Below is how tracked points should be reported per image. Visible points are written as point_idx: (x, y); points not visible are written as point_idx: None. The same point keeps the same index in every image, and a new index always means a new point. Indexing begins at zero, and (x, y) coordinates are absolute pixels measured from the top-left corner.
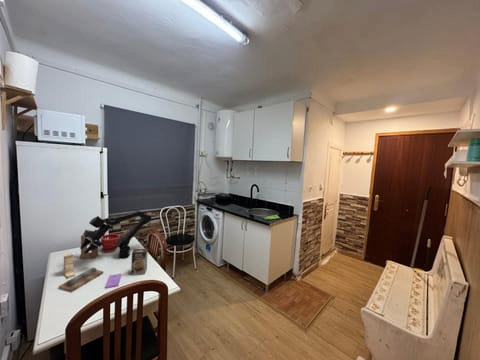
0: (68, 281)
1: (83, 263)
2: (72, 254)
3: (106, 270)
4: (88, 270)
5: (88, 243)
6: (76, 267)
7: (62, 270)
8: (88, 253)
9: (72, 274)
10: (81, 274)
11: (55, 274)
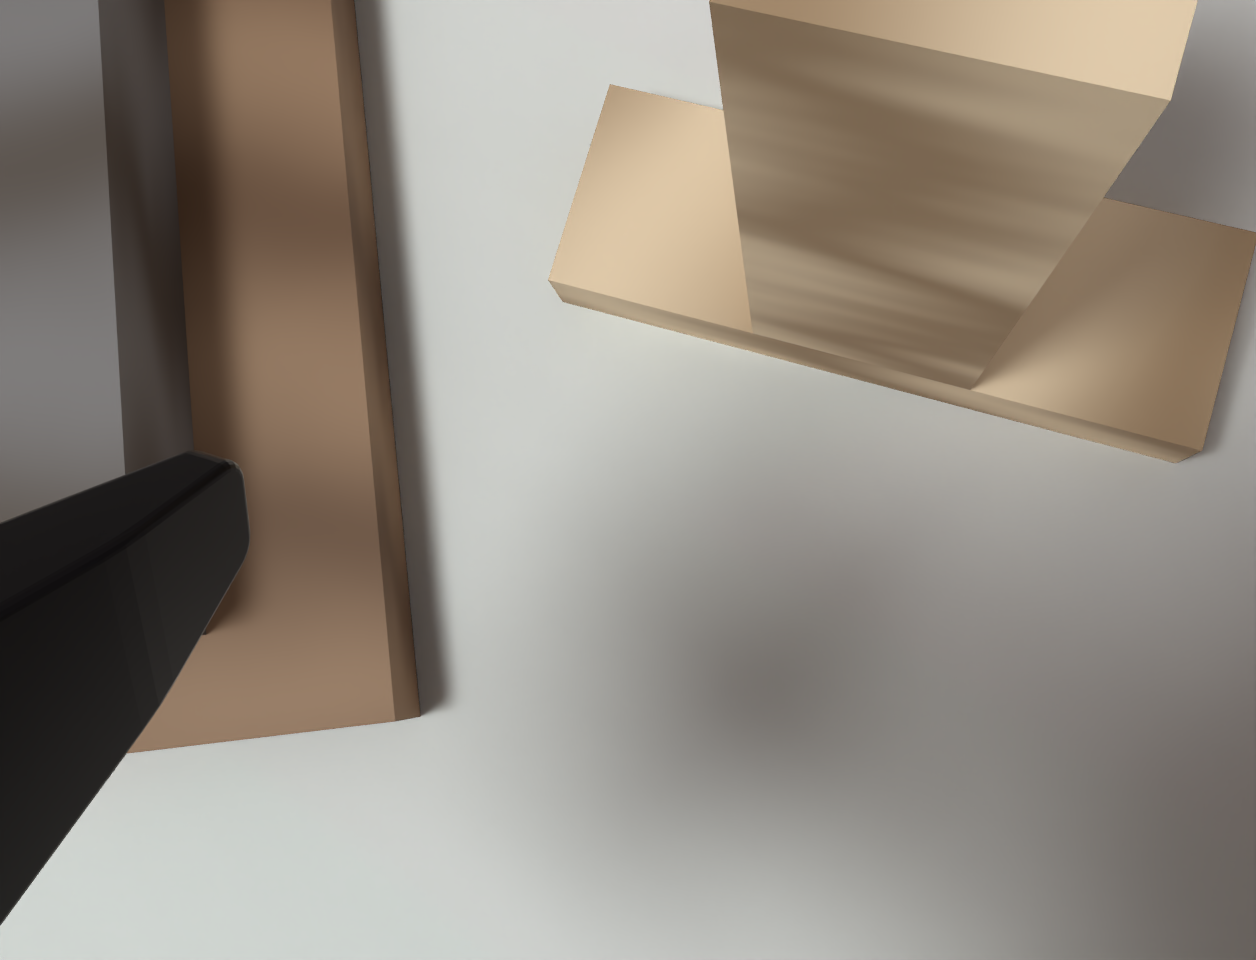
0: None
1: (1198, 940)
2: (857, 11)
3: (6, 942)
4: (82, 432)
5: None
6: (1099, 631)
7: (1217, 236)
8: None
9: (588, 220)
10: (59, 179)
11: (1206, 68)
